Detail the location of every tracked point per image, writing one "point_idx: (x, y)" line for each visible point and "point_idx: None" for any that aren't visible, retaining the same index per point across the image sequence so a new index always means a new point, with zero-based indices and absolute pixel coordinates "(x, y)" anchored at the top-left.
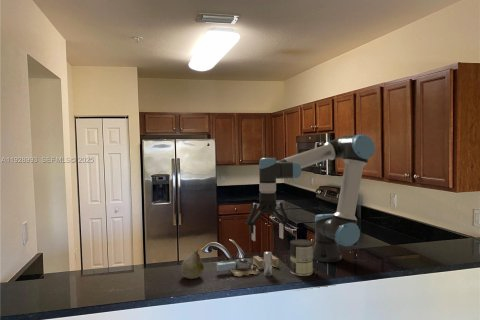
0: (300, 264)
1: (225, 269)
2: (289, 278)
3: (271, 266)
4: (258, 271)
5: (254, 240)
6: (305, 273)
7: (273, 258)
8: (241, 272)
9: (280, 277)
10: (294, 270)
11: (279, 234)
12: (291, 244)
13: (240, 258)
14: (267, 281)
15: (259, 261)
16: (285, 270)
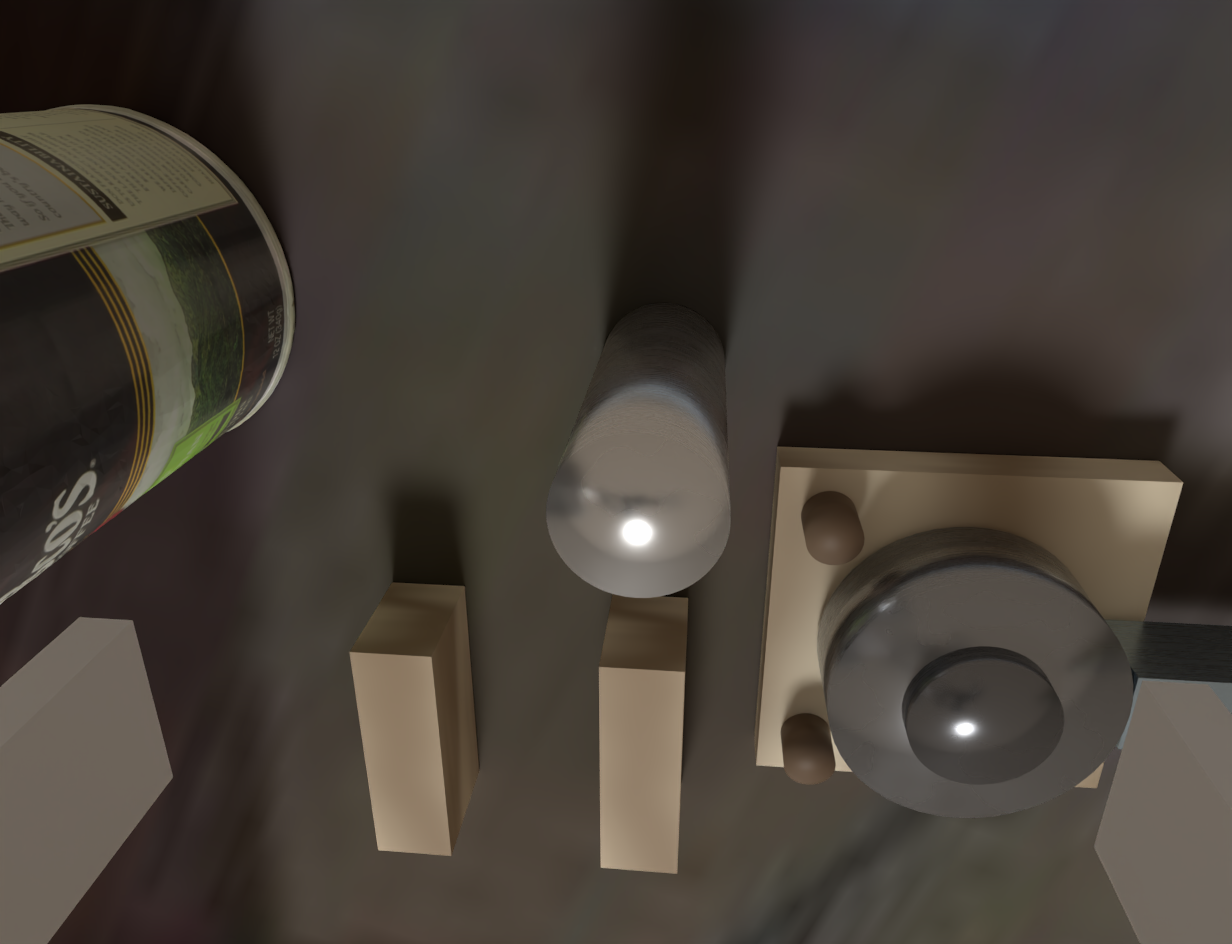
0: (79, 158)
1: None
2: (404, 90)
3: (610, 357)
4: (782, 461)
5: (1188, 698)
6: (93, 111)
7: (415, 697)
8: (1074, 486)
9: (525, 187)
10: (238, 235)
11: (112, 837)
12: None
13: (998, 782)
14: (803, 88)
15: (679, 666)
16: (340, 436)
